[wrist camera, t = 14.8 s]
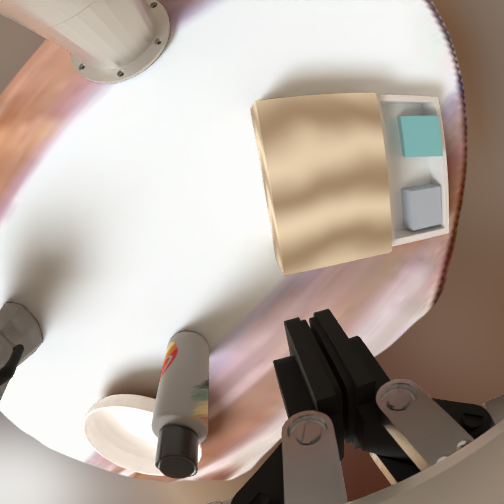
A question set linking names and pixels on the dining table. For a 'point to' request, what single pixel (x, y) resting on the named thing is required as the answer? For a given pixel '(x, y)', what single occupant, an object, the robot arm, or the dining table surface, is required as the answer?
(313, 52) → the dining table surface
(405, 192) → the slate tile
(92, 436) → the bowl
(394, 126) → the box
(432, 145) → the teal tile
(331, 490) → the robot arm
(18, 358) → the coffeepot
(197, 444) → the lotion bottle
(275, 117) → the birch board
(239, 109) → the dining table surface
